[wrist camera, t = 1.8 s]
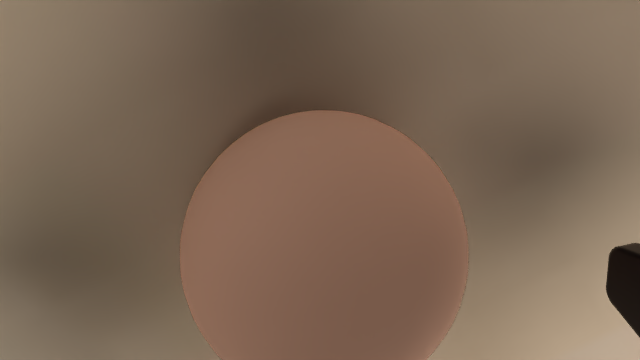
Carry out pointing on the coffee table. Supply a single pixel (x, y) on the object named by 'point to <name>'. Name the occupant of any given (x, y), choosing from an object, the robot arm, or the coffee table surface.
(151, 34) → the coffee table surface
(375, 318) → the ball
